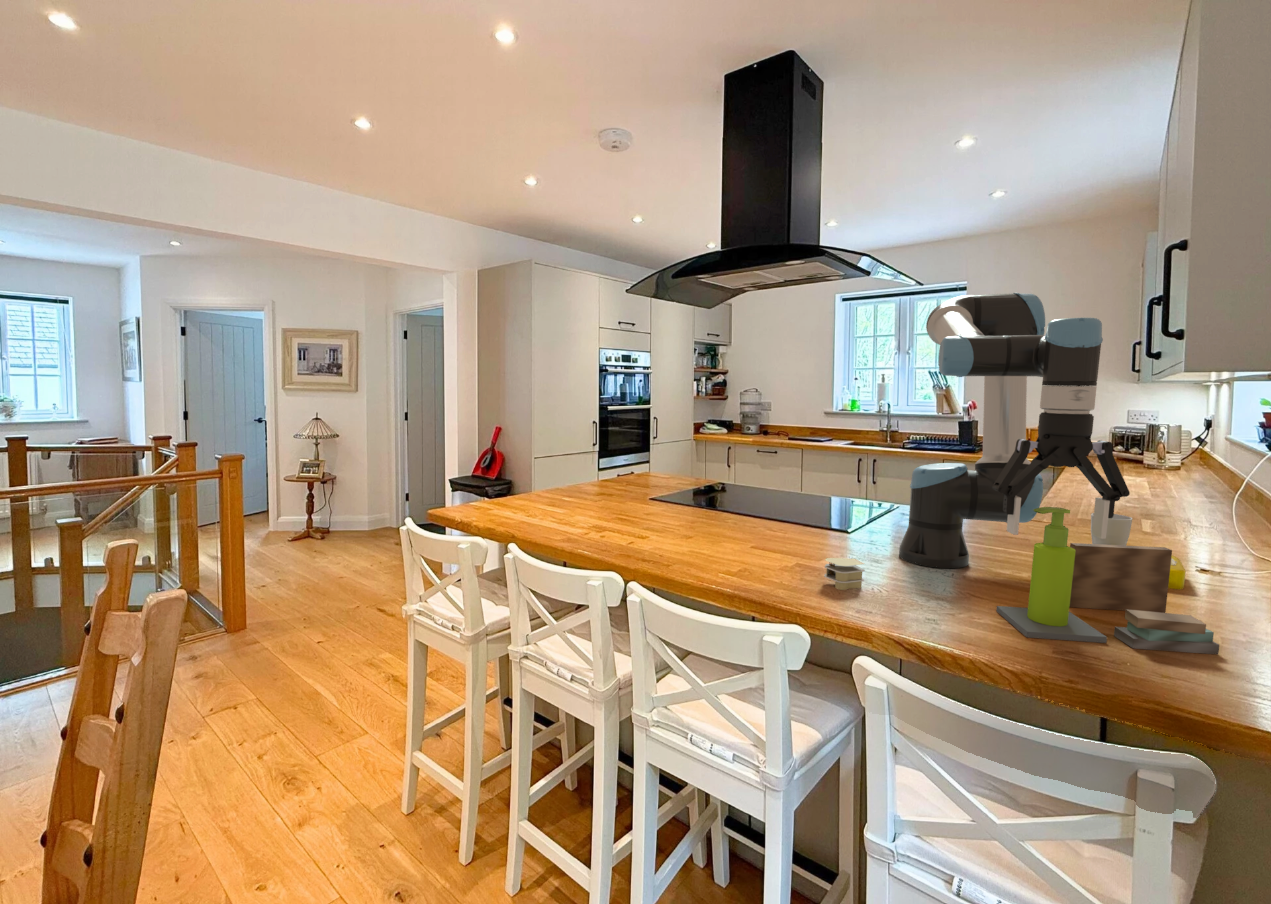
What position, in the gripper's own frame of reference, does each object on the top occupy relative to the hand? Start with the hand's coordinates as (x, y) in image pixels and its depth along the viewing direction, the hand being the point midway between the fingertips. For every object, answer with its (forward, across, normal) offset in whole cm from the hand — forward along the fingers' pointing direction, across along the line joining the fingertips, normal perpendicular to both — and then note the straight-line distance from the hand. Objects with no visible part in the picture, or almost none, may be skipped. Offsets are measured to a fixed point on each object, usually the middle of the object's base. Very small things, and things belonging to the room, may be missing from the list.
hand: (1055, 534), depth 104 cm
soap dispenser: (+15, -1, 0) cm, 15 cm away
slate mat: (+16, 0, -1) cm, 16 cm away
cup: (+17, +38, +52) cm, 67 cm away
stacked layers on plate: (+17, -32, +15) cm, 39 cm away
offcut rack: (+16, +17, +3) cm, 24 cm away
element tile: (+17, +35, +36) cm, 53 cm away
